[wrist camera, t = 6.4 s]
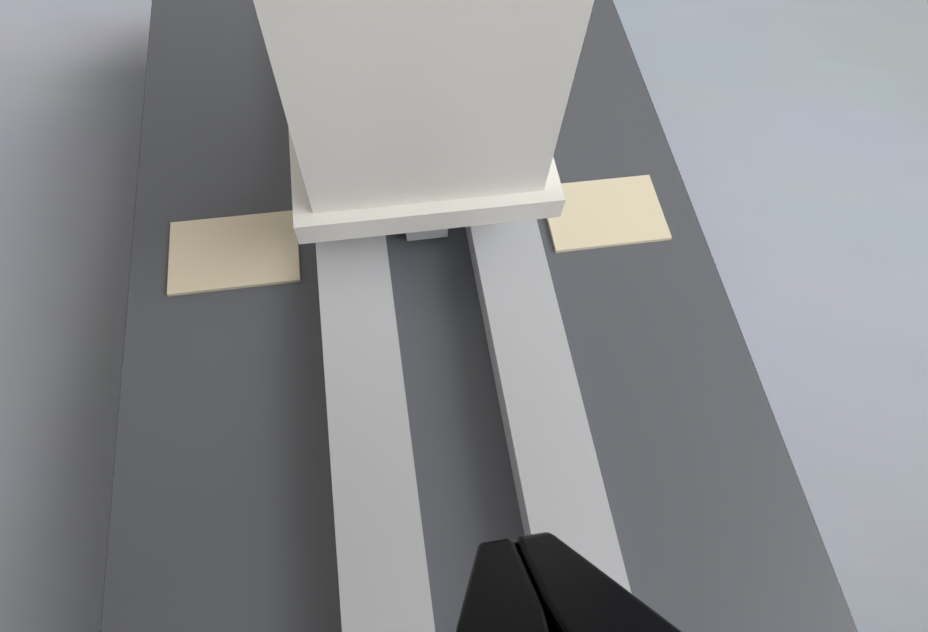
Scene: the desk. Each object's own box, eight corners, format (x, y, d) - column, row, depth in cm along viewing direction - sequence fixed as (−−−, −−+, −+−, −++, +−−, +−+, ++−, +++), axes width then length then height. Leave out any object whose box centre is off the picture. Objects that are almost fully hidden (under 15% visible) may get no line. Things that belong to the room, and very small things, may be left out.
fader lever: (547, 257, 15) (691, -190, 7) (312, 284, 15) (155, -175, 6) (522, 160, 16) (618, -316, 8) (305, 181, 16) (169, -313, 7)
